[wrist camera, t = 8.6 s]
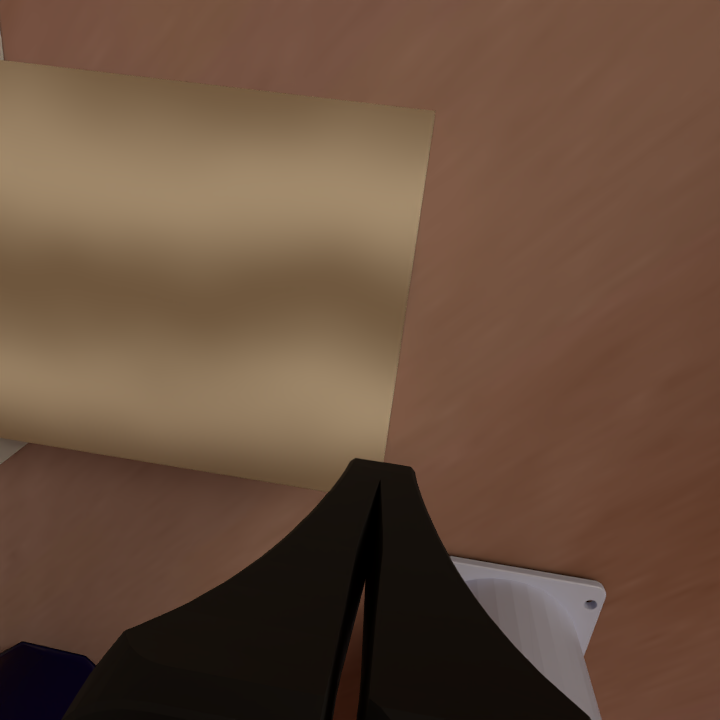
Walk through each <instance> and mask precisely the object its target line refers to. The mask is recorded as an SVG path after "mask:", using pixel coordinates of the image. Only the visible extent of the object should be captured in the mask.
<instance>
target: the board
mask: <svg viewBox="0 0 720 720" xmlns="http://www.w3.org/2000/svg"><path fill="white" fill-rule="evenodd" d="M434 118H435V111H431V110H423V109H414V108H406V107H397V106H389V105H380V104H372V103H363V102H354V101H346V100H337V99H329V98H320V97H312V96H303V95H295V94H286V93H278V92H269V91H260V90H252V89H243V88H235V87H226V86H218V85H209V84H201V83H192V82H184V81H175V80H166V79H158V78H149V77H141V76H132V75H124V74H115V73H107V72H98V71H90V70H81V69H72V68H64V67H55V66H47V65H38V64H30V63H21V62H13V61H4V60H0V438H5V439H11V440H17V441H23V442H29V443H35V444H41V445H47V446H53V447H59V448H65V449H71V450H77V451H83V452H89V453H95V454H101V455H107V456H113V457H119V458H125V459H131V460H137V461H143V462H149V463H155V464H161V465H167V466H174V467H180V468H186V469H192V470H198V471H204V472H210V473H216V474H222V475H228V476H234V477H240V478H246V479H252V480H258V481H264V482H270V483H276V484H282V485H288V486H294V487H300V488H306V489H312V490H318V491H324V492H329V491H330V490H331V489H332V487H333V486H334V485H335V483H336V482H337V481H338V479H339V478H340V477H341V475H342V474H343V472H344V471H345V469H346V468H347V466H348V464H349V462H350V461H351V460H353V459H354V458H360V459H366V460H372V461H378V462H383V461H384V454H385V447H386V441H387V434H388V427H389V420H390V414H391V407H392V400H393V394H394V387H395V380H396V373H397V367H398V360H399V353H400V347H401V340H402V333H403V326H404V320H405V313H406V306H407V299H408V293H409V286H410V279H411V273H412V266H413V259H414V252H415V246H416V239H417V232H418V226H419V219H420V212H421V205H422V199H423V192H424V185H425V178H426V172H427V165H428V158H429V152H430V145H431V138H432V131H433V125H434Z"/></svg>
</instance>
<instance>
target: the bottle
mask: <svg viewBox="0 0 720 720" xmlns="http://www.w3.org/2000/svg"><path fill="white" fill-rule="evenodd" d="M95 667H96V665H95V664H94V663H92V662H91V661H90V660H89V659H88V658H87V657H86V656H83V655H78V654H74V653H70V652H65V651H61V650H57V649H53V648H48V647H44V646H40V645H35V644H31V643H27V642H20V643H19V644H17V645H15V646H13V647H11V648H10V649H8V650H6V651H4V652H2V653H1V654H0V720H61V719H62V718H63V716H64V714H65V713H66V711H67V710H68V708H69V706H70V705H71V703H72V701H73V700H74V698H75V697H76V695H77V693H78V692H79V690H80V689H81V687H82V685H83V684H84V682H85V681H86V679H87V678H88V676H89V675H90V673H91V672H92V671H93V669H94V668H95Z"/></svg>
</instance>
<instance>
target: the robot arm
mask: <svg viewBox="0 0 720 720" xmlns="http://www.w3.org/2000/svg"><path fill="white" fill-rule="evenodd" d="M365 579H366V580H365ZM364 583H365V601H364V622H363V645H362V667H361V683H360V695H359V705H358V712H357V719H356V720H602V719H601V715H600V712H599V709H598V705H597V702H596V698H595V695H594V691H593V688H592V684H591V681H590V677H589V674H588V670H587V667H586V663H585V660H584V654H585V651H586V649H587V646H588V643H589V641H590V638H591V635H592V633H593V630H594V627H595V625H596V622H597V619H598V616H599V614H600V611H601V608H602V606H603V603H604V600H605V598H606V592H605V589H604V587H603V585H602V584H601V583H600V582H597V581H594V580H588V579H582V578H576V577H570V576H565V575H559V574H553V573H547V572H541V571H535V570H530V569H524V568H518V567H512V566H506V565H500V564H494V563H489V562H483V561H477V560H471V559H465V558H459V557H454V556H449V555H448V553H447V551H446V549H445V547H444V545H443V544H442V542H441V540H440V538H439V536H438V534H437V531H436V529H435V527H434V525H433V523H432V520H431V518H430V516H429V514H428V511H427V509H426V507H425V504H424V501H423V499H422V496H421V493H420V490H419V487H418V484H417V480H416V476H415V472H414V470H413V469H412V468H411V467H409V466H403V465H397V464H391V463H385V462H378V461H372V460H366V459H360V458H354V459H353V460H351V461H350V462H349V464H348V466H347V468H346V469H345V471H344V472H343V474H342V475H341V477H340V478H339V479H338V481H337V482H336V483H335V485H334V486H333V487H332V489H331V490H330V491H329V492H328V493H327V494H326V496H325V497H324V498H323V499H322V500H321V501H320V503H319V504H318V505H317V506H316V507H315V508H314V509H313V510H312V512H311V513H310V514H309V515H308V516H307V517H306V518H305V519H303V520H302V521H301V522H300V523H299V524H298V525H297V526H296V527H295V528H294V529H293V530H292V531H291V532H290V533H289V534H288V535H287V536H286V537H285V538H284V539H282V540H281V541H280V542H279V543H278V544H277V545H275V546H274V547H273V548H272V549H270V550H269V551H268V552H267V553H265V554H264V555H263V556H262V557H260V558H259V559H258V560H256V561H255V562H253V563H252V564H251V565H249V566H248V567H246V568H245V569H244V570H242V571H241V572H239V573H238V574H236V575H235V576H233V577H232V578H230V579H229V580H227V581H226V582H224V583H222V584H221V585H219V586H217V587H215V588H214V589H212V590H210V591H208V592H207V593H205V594H203V595H201V596H199V597H198V598H196V599H194V600H192V601H191V602H189V603H187V604H185V605H183V606H181V607H179V608H177V609H174V610H172V611H170V612H168V613H165V614H163V615H161V616H158V617H156V618H154V619H152V620H149V621H147V622H145V623H142V624H140V625H138V626H135V627H133V628H130V629H128V630H126V631H124V632H123V633H122V635H121V636H120V637H119V638H118V639H117V641H116V642H115V643H114V644H113V646H112V647H111V648H110V649H109V650H108V652H107V653H106V654H105V655H104V657H103V658H102V659H101V660H100V662H99V663H98V664H97V665H96V667H95V668H94V669H93V671H92V672H91V673H90V675H89V676H88V678H87V679H86V681H85V682H84V684H83V685H82V687H81V689H80V690H79V692H78V693H77V695H76V697H75V698H74V700H73V701H72V703H71V705H70V706H69V708H68V710H67V711H66V713H65V714H64V716H63V718H62V719H61V720H332V719H333V713H334V707H335V701H336V695H337V691H338V686H339V681H340V677H341V672H342V669H343V665H344V661H345V657H346V653H347V649H348V645H349V641H350V638H351V634H352V630H353V626H354V622H355V618H356V614H357V610H358V607H359V603H360V599H361V595H362V591H363V587H364ZM588 600H593V601H592V602H586V601H588Z"/></svg>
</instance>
